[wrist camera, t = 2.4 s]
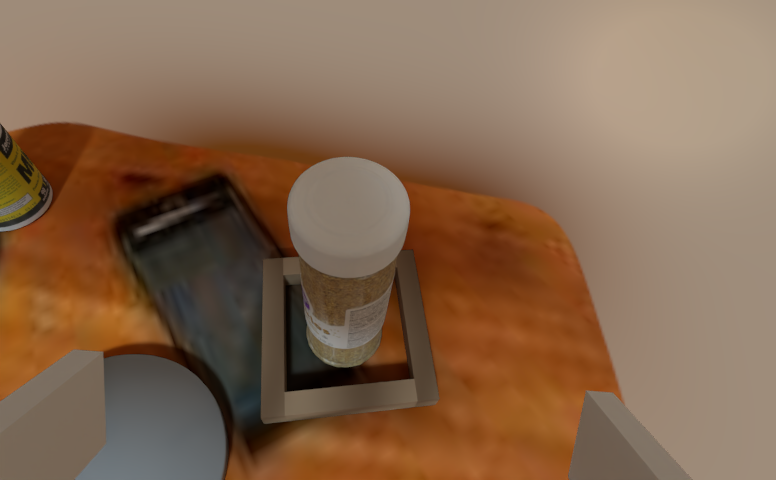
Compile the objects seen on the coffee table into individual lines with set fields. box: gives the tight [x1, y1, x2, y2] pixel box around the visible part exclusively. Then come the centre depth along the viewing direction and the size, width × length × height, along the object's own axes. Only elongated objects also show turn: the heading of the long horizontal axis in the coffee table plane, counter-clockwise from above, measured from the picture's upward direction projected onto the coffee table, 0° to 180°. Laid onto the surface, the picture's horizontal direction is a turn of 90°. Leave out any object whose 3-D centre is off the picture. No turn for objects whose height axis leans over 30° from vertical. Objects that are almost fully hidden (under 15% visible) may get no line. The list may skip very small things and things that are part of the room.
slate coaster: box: [74, 354, 229, 480], centre depth 23 cm, size 11×11×1 cm
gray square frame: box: [261, 250, 439, 424], centre depth 28 cm, size 9×9×1 cm
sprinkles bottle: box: [287, 157, 410, 367], centre depth 23 cm, size 5×5×13 cm
